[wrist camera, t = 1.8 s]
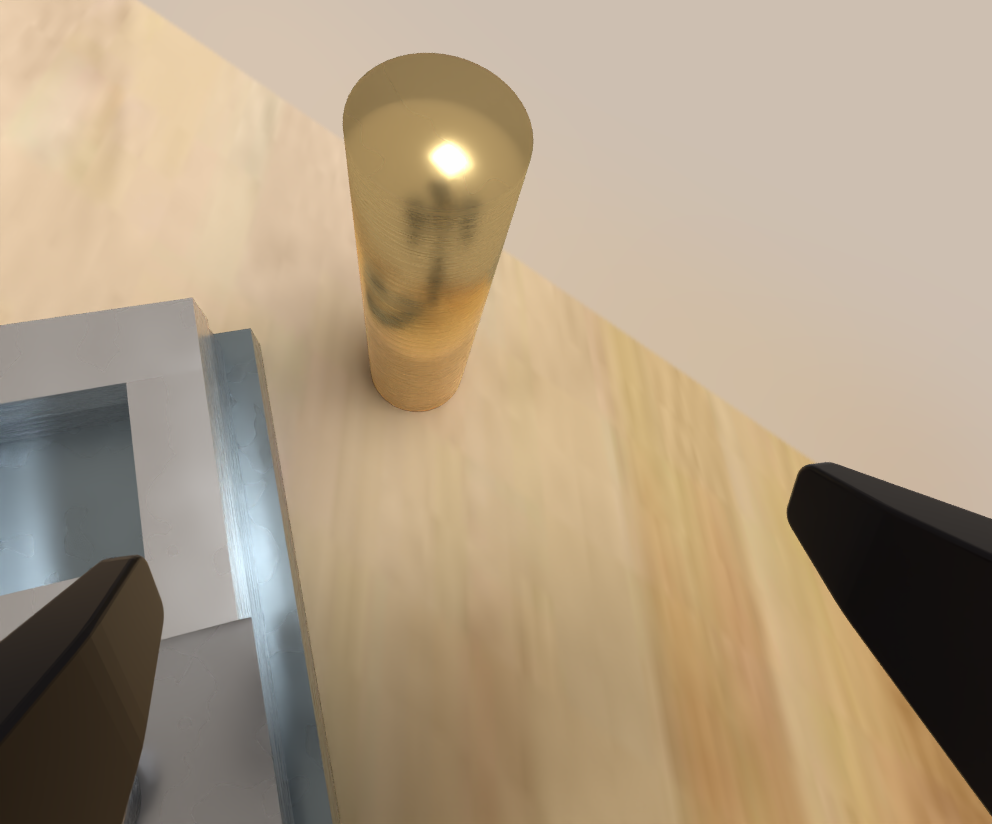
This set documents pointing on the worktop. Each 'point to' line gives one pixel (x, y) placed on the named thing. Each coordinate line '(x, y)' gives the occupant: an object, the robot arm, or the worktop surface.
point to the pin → (430, 213)
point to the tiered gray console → (171, 546)
